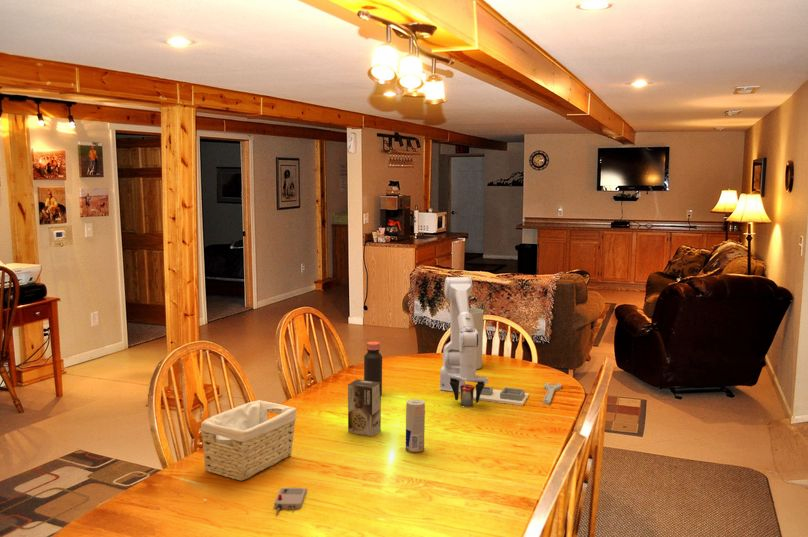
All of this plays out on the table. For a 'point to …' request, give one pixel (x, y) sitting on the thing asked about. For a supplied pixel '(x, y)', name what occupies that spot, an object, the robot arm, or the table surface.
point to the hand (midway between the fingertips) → (467, 400)
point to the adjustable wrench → (550, 392)
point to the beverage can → (415, 425)
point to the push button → (467, 395)
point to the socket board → (503, 395)
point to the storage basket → (247, 439)
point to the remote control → (290, 498)
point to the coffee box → (364, 407)
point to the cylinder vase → (479, 327)
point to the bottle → (373, 363)
